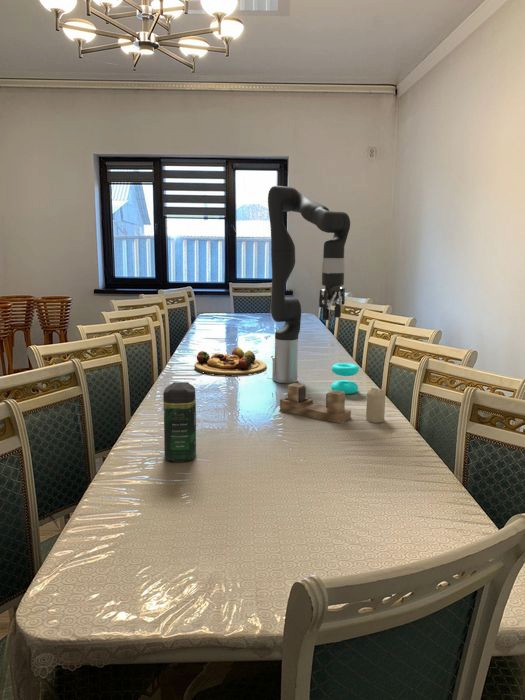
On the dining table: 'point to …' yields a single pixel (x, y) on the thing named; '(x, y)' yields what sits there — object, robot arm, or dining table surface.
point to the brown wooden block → (296, 392)
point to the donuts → (345, 370)
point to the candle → (375, 405)
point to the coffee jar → (179, 421)
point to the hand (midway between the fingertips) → (331, 318)
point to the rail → (320, 407)
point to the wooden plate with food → (229, 363)
